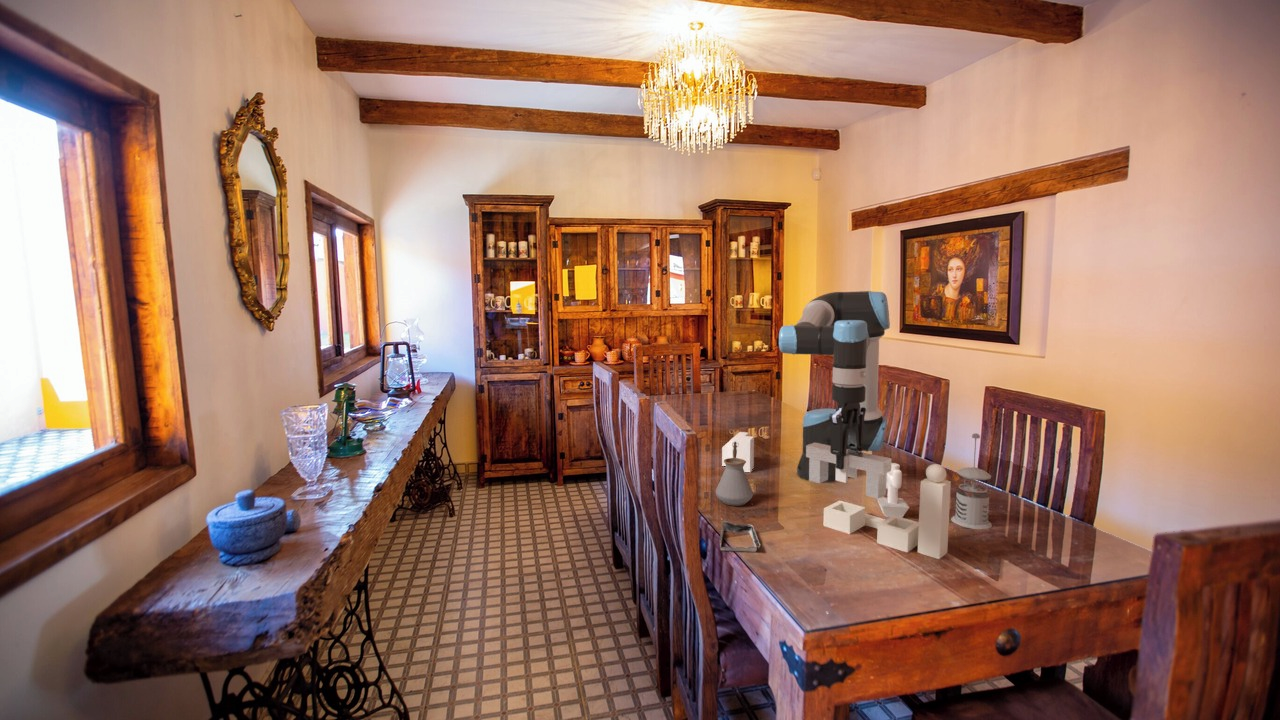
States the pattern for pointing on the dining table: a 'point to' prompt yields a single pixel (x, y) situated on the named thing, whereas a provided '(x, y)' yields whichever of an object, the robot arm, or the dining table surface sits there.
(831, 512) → the headboard post
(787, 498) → the dining table surface
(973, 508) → the french press
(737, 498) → the grey vase
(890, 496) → the figurine
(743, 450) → the corner bracket
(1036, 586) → the dining table surface
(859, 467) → the grey bench
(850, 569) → the dining table surface
